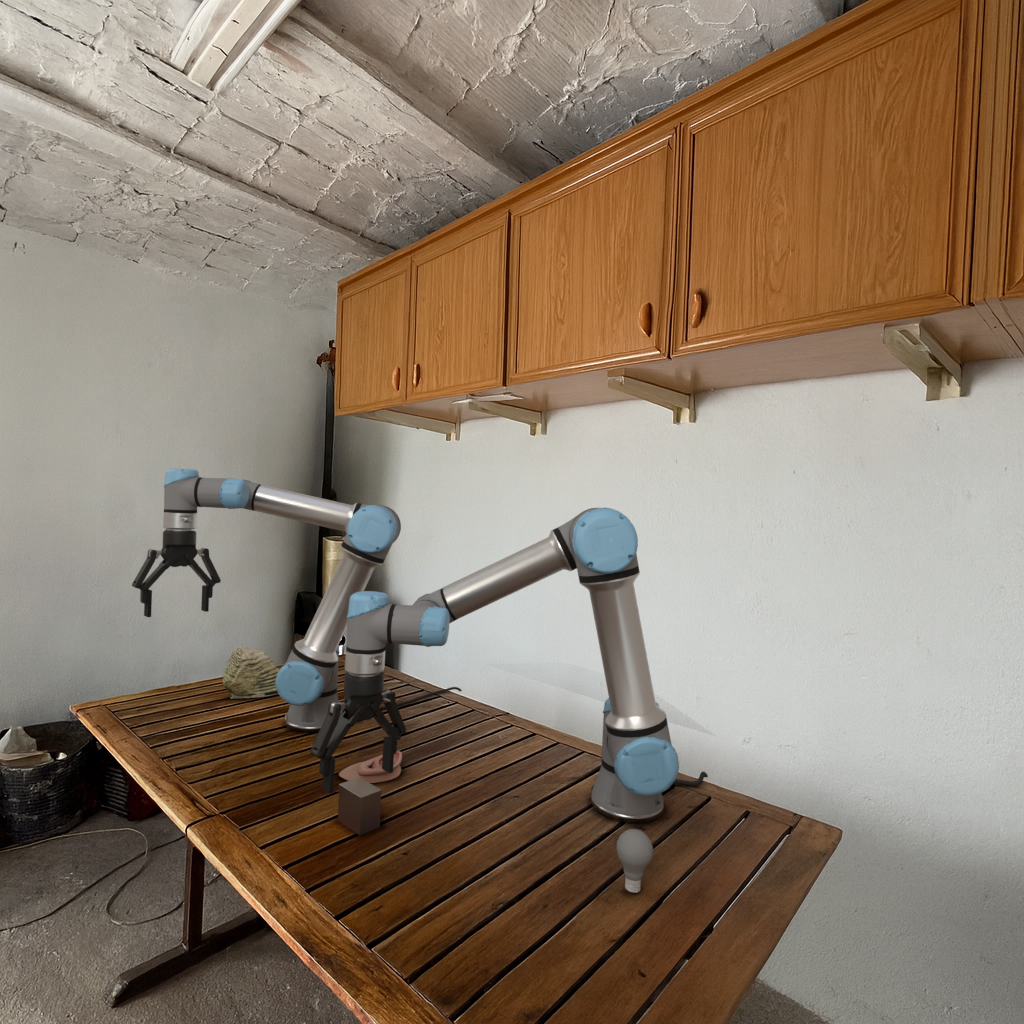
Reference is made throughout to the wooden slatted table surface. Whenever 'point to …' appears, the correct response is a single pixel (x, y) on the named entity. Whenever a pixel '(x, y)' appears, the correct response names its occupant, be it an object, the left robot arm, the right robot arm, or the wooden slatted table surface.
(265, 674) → the fossil
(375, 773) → the anatomical model
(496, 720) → the wooden slatted table surface
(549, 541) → the right robot arm
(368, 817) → the brick
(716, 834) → the wooden slatted table surface
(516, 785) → the wooden slatted table surface
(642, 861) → the light bulb
